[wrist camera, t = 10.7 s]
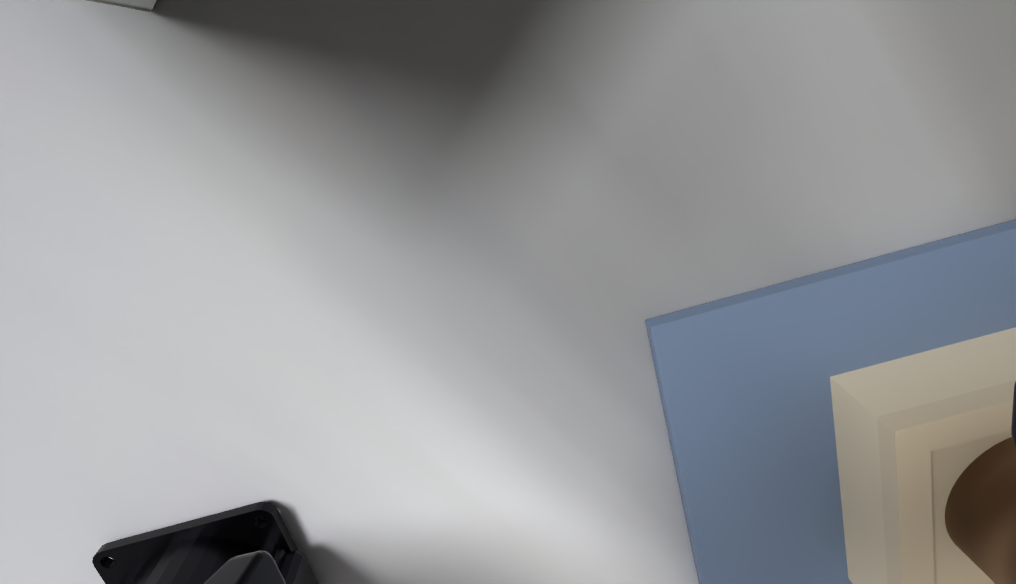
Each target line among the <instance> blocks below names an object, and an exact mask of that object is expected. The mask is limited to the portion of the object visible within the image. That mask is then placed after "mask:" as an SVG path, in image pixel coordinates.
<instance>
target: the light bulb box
mask: <svg viewBox="0 0 1016 584" xmlns="http://www.w3.org/2000/svg"><path fill="white" fill-rule="evenodd" d="M88 1H93V2H98V3H104V4H110V5H116V6H121V7H127V8H131V9H136V10H141V11H146V12H150V11H152V10H153V7H154V5H155V3H156V1H157V0H88Z"/></svg>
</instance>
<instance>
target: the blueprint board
mask: <svg viewBox="0 0 1016 584" xmlns="http://www.w3.org/2000/svg"><path fill="white" fill-rule="evenodd" d="M645 323H646V327H647V332H648V337H649V342H650V347H651V352H652V357H653V362H654V366H655V371H656V376H657V381H658V386H659V391H660V396H661V401H662V405H663V410H664V415H665V420H666V425H667V430H668V435H669V439H670V444H671V449H672V454H673V459H674V464H675V469H676V474H677V478H678V483H679V488H680V493H681V498H682V503H683V508H684V513H685V517H686V522H687V527H688V532H689V537H690V542H691V547H692V551H693V556H694V561H695V566H696V571H697V576H698V581H699V584H995V583H994V582H993V581H992V580H991V579H990V578H989V577H988V576H987V575H986V574H985V573H984V572H983V571H982V570H981V569H980V568H979V567H978V566H977V565H976V564H975V563H974V562H973V561H972V560H971V559H970V558H969V557H968V556H967V555H966V554H964V553H963V552H962V551H961V550H960V549H959V548H958V547H957V546H956V545H955V544H954V542H953V541H952V540H951V538H950V536H949V534H948V532H947V529H946V525H945V507H946V503H947V499H948V497H949V494H950V492H951V489H952V488H953V486H954V484H955V482H956V481H957V479H958V478H959V476H960V475H961V474H962V472H963V471H964V470H965V469H966V468H967V467H968V466H969V465H970V464H971V463H972V462H973V461H974V460H975V459H976V458H977V457H978V456H980V455H981V454H982V453H984V452H985V451H986V450H988V449H989V448H991V447H992V446H994V445H996V444H998V443H1000V442H1002V441H1003V440H1005V439H1008V438H1010V437H1012V435H1011V425H1012V410H1013V395H1014V385H1015V382H1016V219H1015V220H1012V221H1008V222H1004V223H1001V224H997V225H993V226H990V227H986V228H982V229H979V230H975V231H971V232H968V233H964V234H960V235H956V236H953V237H949V238H945V239H942V240H938V241H934V242H931V243H927V244H923V245H920V246H916V247H912V248H909V249H905V250H901V251H898V252H894V253H890V254H886V255H883V256H879V257H875V258H872V259H868V260H864V261H861V262H857V263H853V264H850V265H846V266H842V267H839V268H835V269H831V270H828V271H824V272H820V273H816V274H813V275H809V276H805V277H802V278H798V279H794V280H791V281H787V282H783V283H780V284H776V285H772V286H769V287H765V288H761V289H758V290H754V291H750V292H747V293H743V294H739V295H735V296H732V297H728V298H724V299H721V300H717V301H713V302H710V303H706V304H702V305H699V306H695V307H691V308H688V309H684V310H680V311H677V312H673V313H669V314H665V315H662V316H658V317H654V318H651V319H647V320H645Z"/></svg>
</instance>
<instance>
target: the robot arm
mask: <svg viewBox="0 0 1016 584" xmlns="http://www.w3.org/2000/svg"><path fill="white" fill-rule="evenodd" d="M1011 435H1012V439H1013V442H1014V444H1015V447H1016V382H1015V385H1014V395H1013V410H1012V425H1011ZM258 516H264V517H266V518H267V519H268V520H262V519H260V518H259V517H258ZM109 557H111V558H113V559H114V560H113V559H110V558H109ZM93 564H94V567H95V568H96V570H97V571H98V573H99V574H100V576H101V577H102V579H103V580H104V582H105V584H318V582H317V580H316V578H315V576H314V574H313V572H312V570H311V568H310V566H309V564H308V562H307V560H306V558H305V556H304V555H303V554H302V553H301V552H300V551H299V550H298V549H297V547H296V545H295V543H294V541H293V539H292V537H291V535H290V533H289V531H288V529H287V527H286V525H285V523H284V521H283V519H282V517H281V515H280V513H279V511H278V510H277V508H276V507H275V506H274V505H272V504H270V503H266V502H260V503H255V504H251V505H248V506H244V507H240V508H236V509H233V510H229V511H225V512H222V513H218V514H214V515H210V516H207V517H203V518H199V519H195V520H192V521H188V522H184V523H180V524H177V525H173V526H169V527H165V528H162V529H158V530H154V531H151V532H147V533H143V534H139V535H136V536H132V537H128V538H124V539H121V540H117V541H113V542H109V543H106V544H104V545H102V547H101V548H100V549H99V550H98V552H97V553H96V554H95V556H94V557H93Z"/></svg>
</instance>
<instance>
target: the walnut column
mask: <svg viewBox="0 0 1016 584" xmlns="http://www.w3.org/2000/svg"><path fill="white" fill-rule="evenodd" d="M945 525H946V529H947V532H948V534H949V536H950V538H951V540H952V541H953V542H954V544H955V545H956V546H957V547H958V548H959V549H960V550H961V551H962V552H963V553H964V554H966V555H967V556H968V557H969V558H970V559H971V560H972V561H973V562H974V563H975V564H976V565H977V566H978V567H979V568H980V569H981V570H982V571H983V572H984V573H985V574H986V575H987V576H988V577H989V578H990V579H991V580H992V581H993V582H994V583H995V584H1016V447H1015V444H1014V442H1013V439H1012V437H1010V438H1008V439H1005V440H1003V441H1002V442H1000V443H998V444H996V445H994V446H992V447H991V448H989V449H988V450H986V451H985V452H984V453H982V454H981V455H980V456H978V457H977V458H976V459H975V460H974V461H973V462H972V463H971V464H970V465H969V466H968V467H967V468H966V469H965V470H964V471H963V472H962V474H961V475H960V476H959V478H958V479H957V481H956V482H955V484H954V486H953V488H952V489H951V492H950V494H949V497H948V499H947V503H946V507H945Z"/></svg>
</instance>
